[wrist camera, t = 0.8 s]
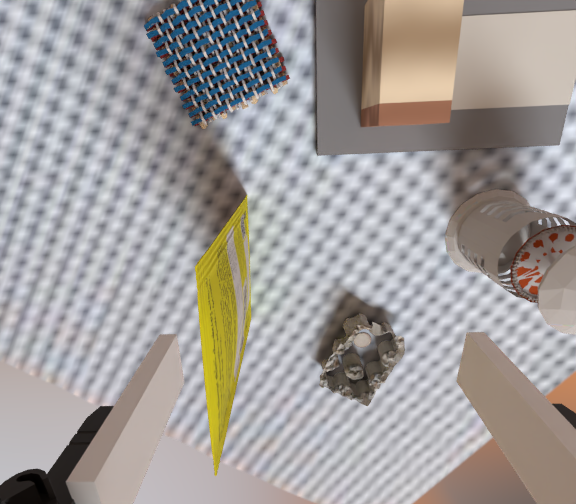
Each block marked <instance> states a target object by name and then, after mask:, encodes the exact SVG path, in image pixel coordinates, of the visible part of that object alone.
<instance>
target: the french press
mask: <svg viewBox="0 0 576 504" xmlns="http://www.w3.org/2000/svg"><path fill="white" fill-rule="evenodd" d="M532 209H533V210H532ZM536 209H537V208H534V207H530V205H529V203H528V201H527V200H526V199H524V198H523V197H521V196H520V195H518V194H517V193H515V192H514V191H508V190H500V189H494V190H490V191H486V192H482V193H479V194H476V195H475V196H473V197H472V198H470V199H469V200H467V201H466V202H464V203H463V204H462V205H461V206H460V207H459V208H458V210H457V211H456V212H455V214H454V215H453V216H452V218H451V219H450V221H449V224H448V228H447V231H446V234H445V240H446V249H447V253H448V254H449V256H450V257H451V259H452V260H453V262H454V263H455V264H456V265H458V266H460V267H461V268H463V269H465V270H466V271H469V272H478V273H484V274H485V275H487V274H486V273H488V274H489V275H487V276H488V277H489V278H490V277H491V278H490V279H492V280H493V281H494V282H496V283H497V284H499V285H500V286H501V287H503V288H504V289H505V288H507V289H511V290H516V292H512V291H509V292H510V293H512V294H513V295H515V296H516V297H521V298H525V299H526V300H528V301H530V302H535V303H538V308H539V310H540V312H541V314H542V316H543V317H544V319H545V321H546V323H547V324H548V325H550V326H552V327H553V328H555V329H557V330H558V331H560V332H562V333H566V334H574V335H576V223H574V222H573V221H571V220H569V219H568V218H565V217H562V216H559V215H556V214H551V213H549V212H546V211H544V210H539V209H537V210H536ZM534 211H537V212H534ZM539 211H540V212H539ZM541 212H542V213H541ZM545 212H546V213H545ZM553 217H556V218H557V219H558V221H559V222H560V224H561V225H560V226H557V224H556V222H555V221H554V219H553ZM545 218H549V220H550V221H551V228H548V227H547V220H546V219H545ZM561 218H562V219H564V220H566V221H568V222H569V224H570V225H566V224H565V223H564V221H563V220H562V219H561ZM540 219H542V225H540V224H538V220H540ZM509 269H511V273H509V274H507V275H503V276H498V274H500V273H505V272H506V271H508V270H509ZM510 277H511V281H506V282H504V281H500V280H499V279H501V280H502V279H506V278H510ZM502 284H507V285H511V284H512V285H513V287H508V286H504V285H502ZM507 289H506V290H507ZM507 291H508V290H507Z"/></svg>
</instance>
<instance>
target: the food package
mask: <svg viewBox="0 0 576 504" xmlns="http://www.w3.org/2000/svg"><path fill="white" fill-rule="evenodd" d="M195 271H196V280H197V289H198V310H199V323H200V335H201V346H202V357H203V369H204V379H205V390H206V400H207V409H208V419H209V428H210V438H211V447H212V454H213V460H214V470H215V476H216V475H217V470H218V467H219V463H220V457H221V454H222V450H223V445H224V441H225V437H226V432H227V427H228V423H229V418H230V414H231V409H232V404H233V400H234V395H235V391H236V386H237V382H238V377H239V372H240V368H241V363H242V359H243V354H244V350H245V345H246V341H247V336H248V332H249V327H250V321H251V290H250V257H249V229H248V207H247V195H246V197H245V199H244V200H243V201H242V203H241V204H240V206H239V207H238V208H237V210H236V211H235V212H234V214H233V215H232V217H231V218H230V219H229V221H228V222H227V224H226V225H225V226H224V228H223V229H222V230H221V232H220V233H219V235H218V236H217V238H216V239H215V240H214V242H213V243H212V245H211V246H210V247H209V249H208V250H207V251H206V253H205V254H204V255H203V256H202V258H201V259H200V260H199V262H198V263H197V265H196V266H195Z"/></svg>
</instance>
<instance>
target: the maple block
mask: <svg viewBox="0 0 576 504" xmlns="http://www.w3.org/2000/svg"><path fill="white" fill-rule="evenodd" d="M463 5H464V0H368V1H367V2H366V4H365V11H364V42H363V73H362V104H361V127H378V126H401V125H421V124H437V123H450V114H451V106H452V97H453V89H454V80H455V72H456V64H457V55H458V47H459V38H460V30H461V21H462V13H463Z"/></svg>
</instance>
